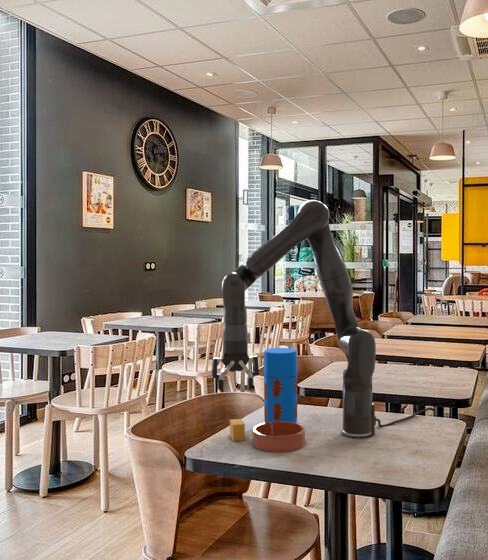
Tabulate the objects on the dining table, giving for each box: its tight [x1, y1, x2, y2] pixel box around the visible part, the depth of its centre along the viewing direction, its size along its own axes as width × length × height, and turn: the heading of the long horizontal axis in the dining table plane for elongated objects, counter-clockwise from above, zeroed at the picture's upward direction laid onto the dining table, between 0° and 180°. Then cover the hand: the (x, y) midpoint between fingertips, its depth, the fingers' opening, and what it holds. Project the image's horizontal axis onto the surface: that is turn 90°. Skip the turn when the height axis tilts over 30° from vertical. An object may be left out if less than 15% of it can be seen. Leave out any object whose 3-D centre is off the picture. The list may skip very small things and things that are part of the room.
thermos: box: [263, 347, 298, 423], centre depth 197 cm, size 11×11×25 cm
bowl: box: [252, 421, 306, 453], centre depth 180 cm, size 15×15×4 cm
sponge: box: [229, 418, 246, 442], centre depth 186 cm, size 4×6×5 cm, turn 16°
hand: (235, 390), depth 184 cm, fingers open, 8 cm apart
